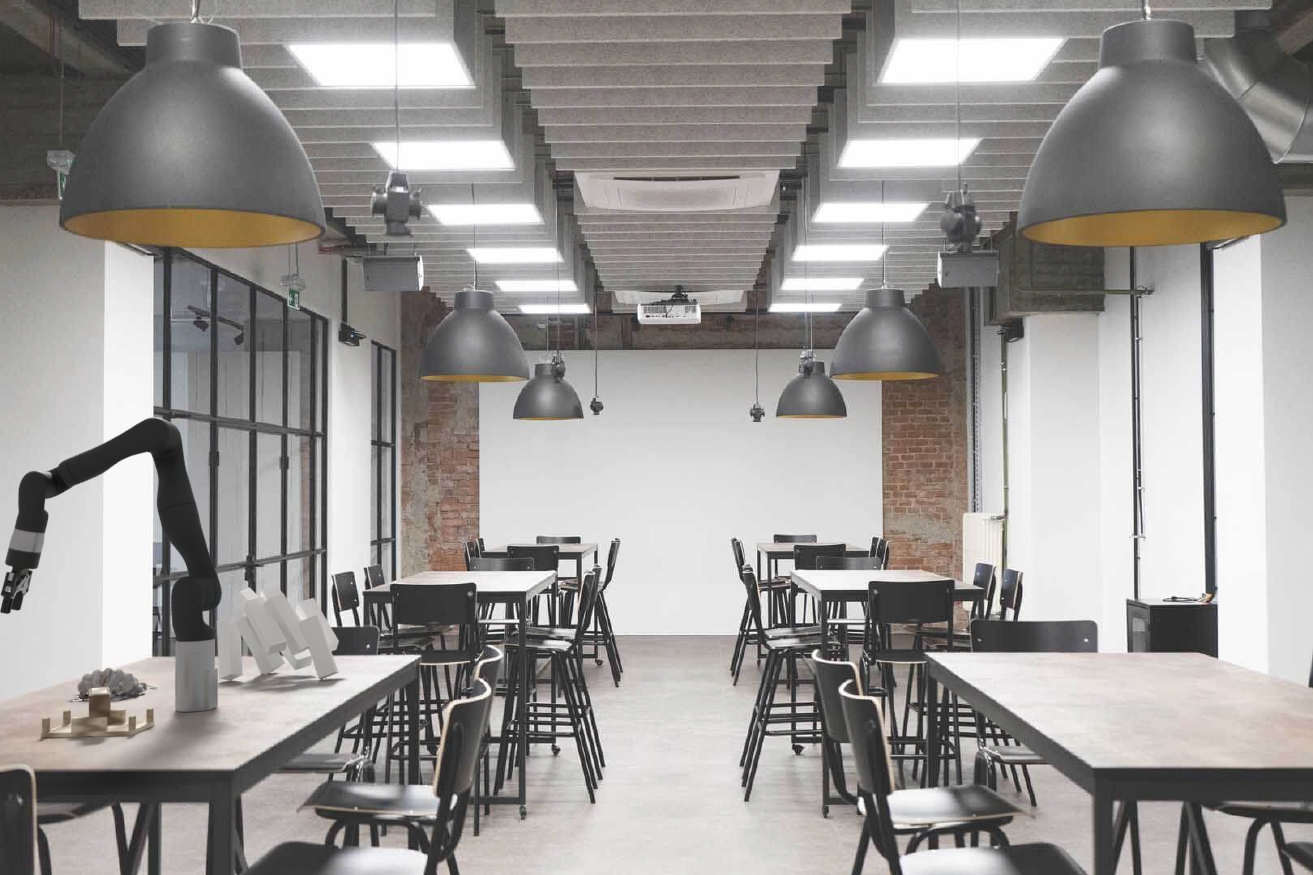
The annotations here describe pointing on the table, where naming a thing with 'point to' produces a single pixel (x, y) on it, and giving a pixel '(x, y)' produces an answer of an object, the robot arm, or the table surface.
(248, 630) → the pile of blocks
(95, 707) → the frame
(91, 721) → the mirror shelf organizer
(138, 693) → the grey rough lump
